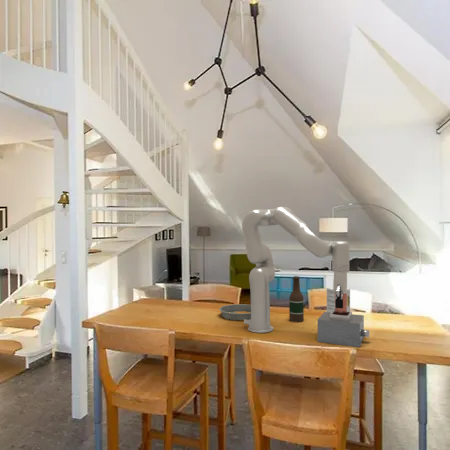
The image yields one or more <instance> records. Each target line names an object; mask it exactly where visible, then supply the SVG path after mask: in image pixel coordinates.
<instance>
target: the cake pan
mask: <svg viewBox="0 0 450 450" xmlns="http://www.w3.org/2000/svg"><path fill="white" fill-rule="evenodd" d="M219 311H220V312H221V317H222V318H223V317H224V319H225V318H226V320H229V319H230V321H237V320H244V319H246V320H250V319H251V304H245V303H244V304H243V303H240V304H239V303H238V304H237V303H236V304H233V303H232V304H227V305H222V306H220V307H219ZM244 311H245V312H244ZM229 312H230V313H229ZM241 312H243V313H241ZM246 312H247V313H246Z"/></svg>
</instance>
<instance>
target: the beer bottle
mask: <svg viewBox="0 0 450 450" xmlns="http://www.w3.org/2000/svg"><path fill="white" fill-rule="evenodd" d="M300 277H301V276H298V275H296V276H295V275H294V276H293V277H292V279H293V280H292V291H291V293H290V295H289V301H288V303H289V305H288V307H289V310H288V311H289V315H288V317H289V321H290V322H293V323H302V322H303V321H304V320H305V319H304V317H305V314H304V311H305V309H304V302H305V301H304V295H303V293H302V291H301V287H300V286H301V284H300V279H301V278H300Z"/></svg>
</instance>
